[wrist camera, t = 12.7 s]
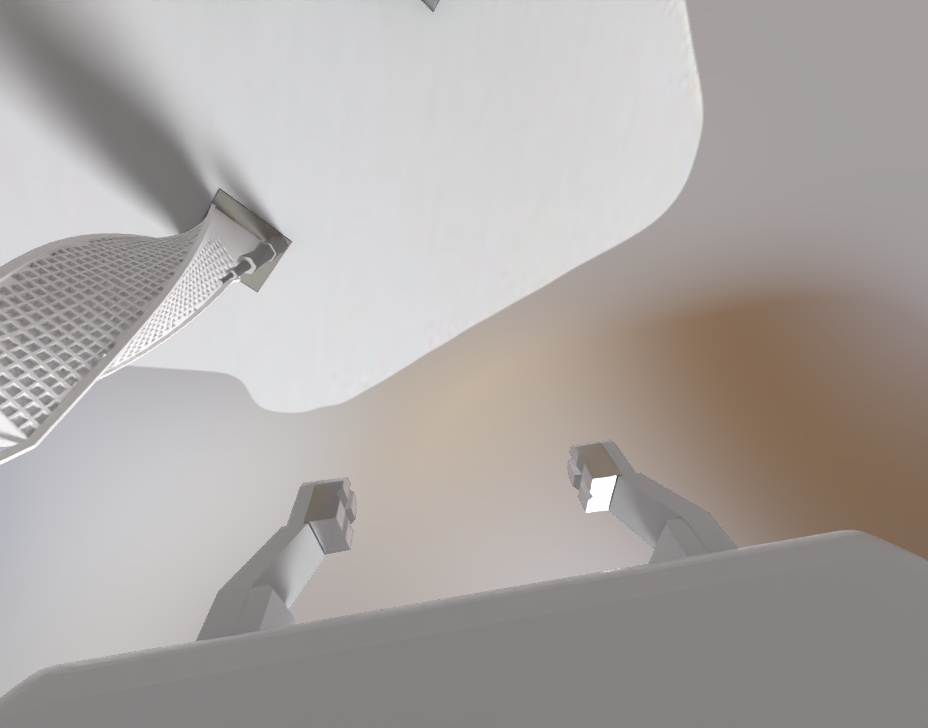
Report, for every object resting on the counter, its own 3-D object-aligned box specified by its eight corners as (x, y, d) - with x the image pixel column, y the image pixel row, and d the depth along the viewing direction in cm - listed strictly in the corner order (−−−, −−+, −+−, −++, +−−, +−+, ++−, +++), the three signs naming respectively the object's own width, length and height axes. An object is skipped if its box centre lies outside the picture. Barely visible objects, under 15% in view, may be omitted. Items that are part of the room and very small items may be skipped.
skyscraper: (252, 300, 37) (-28, 557, 14) (170, 250, 33) (-405, 480, 10) (292, 241, 34) (32, 432, 11) (209, 179, 31) (-448, 265, 7)
